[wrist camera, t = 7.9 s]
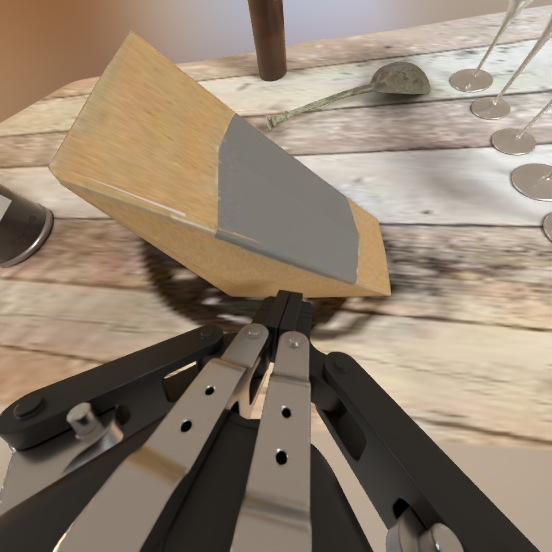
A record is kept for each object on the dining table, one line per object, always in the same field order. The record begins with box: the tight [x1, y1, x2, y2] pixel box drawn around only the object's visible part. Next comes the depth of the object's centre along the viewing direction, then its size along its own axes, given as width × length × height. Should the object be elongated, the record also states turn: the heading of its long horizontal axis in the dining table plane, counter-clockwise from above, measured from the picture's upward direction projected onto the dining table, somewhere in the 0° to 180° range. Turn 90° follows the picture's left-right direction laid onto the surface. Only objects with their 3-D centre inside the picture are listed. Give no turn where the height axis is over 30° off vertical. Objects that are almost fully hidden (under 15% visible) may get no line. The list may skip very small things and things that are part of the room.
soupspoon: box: [265, 62, 430, 132], centre depth 26 cm, size 22×3×7 cm
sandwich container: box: [48, 31, 391, 298], centre depth 13 cm, size 9×15×15 cm, turn 88°
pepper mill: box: [248, 0, 287, 81], centre depth 27 cm, size 4×4×11 cm
